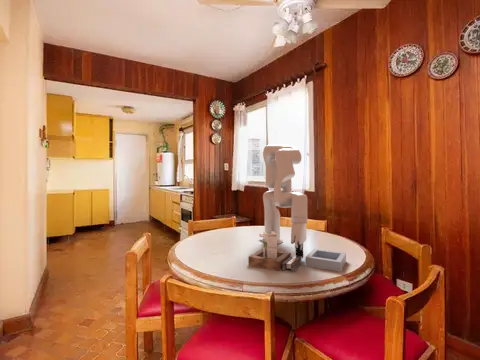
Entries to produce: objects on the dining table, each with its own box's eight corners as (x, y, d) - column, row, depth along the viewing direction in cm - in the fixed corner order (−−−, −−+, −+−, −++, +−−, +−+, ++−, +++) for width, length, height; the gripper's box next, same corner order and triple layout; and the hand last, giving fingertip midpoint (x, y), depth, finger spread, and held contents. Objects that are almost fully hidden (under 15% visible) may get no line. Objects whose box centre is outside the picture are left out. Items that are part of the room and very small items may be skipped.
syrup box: (262, 261, 125) (262, 231, 124) (275, 260, 125) (274, 230, 125) (265, 265, 119) (264, 233, 119) (277, 264, 119) (277, 233, 119)
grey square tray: (305, 265, 118) (305, 256, 118) (314, 256, 131) (314, 248, 131) (340, 271, 110) (340, 262, 110) (346, 261, 123) (346, 253, 123)
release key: (285, 269, 113) (285, 263, 113) (295, 260, 124) (295, 254, 124) (292, 270, 111) (292, 264, 111) (301, 261, 122) (301, 255, 122)
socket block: (248, 265, 119) (248, 256, 119) (262, 256, 132) (262, 248, 132) (292, 273, 109) (292, 264, 109) (303, 263, 121) (303, 254, 121)
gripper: (296, 216, 133) (296, 252, 133) (286, 221, 120) (286, 261, 120) (311, 217, 129) (311, 254, 129) (302, 223, 116) (302, 263, 116)
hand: (299, 257), depth 125 cm, fingers closed
